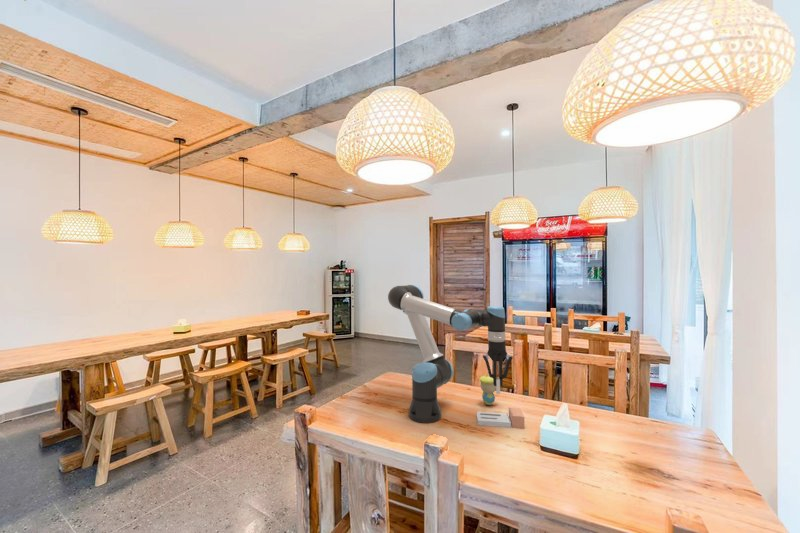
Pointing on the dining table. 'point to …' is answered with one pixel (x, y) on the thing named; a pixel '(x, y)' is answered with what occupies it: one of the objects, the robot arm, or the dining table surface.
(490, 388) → the toy
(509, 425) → the grey slotted block
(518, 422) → the stub
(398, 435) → the dining table surface
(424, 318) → the robot arm
